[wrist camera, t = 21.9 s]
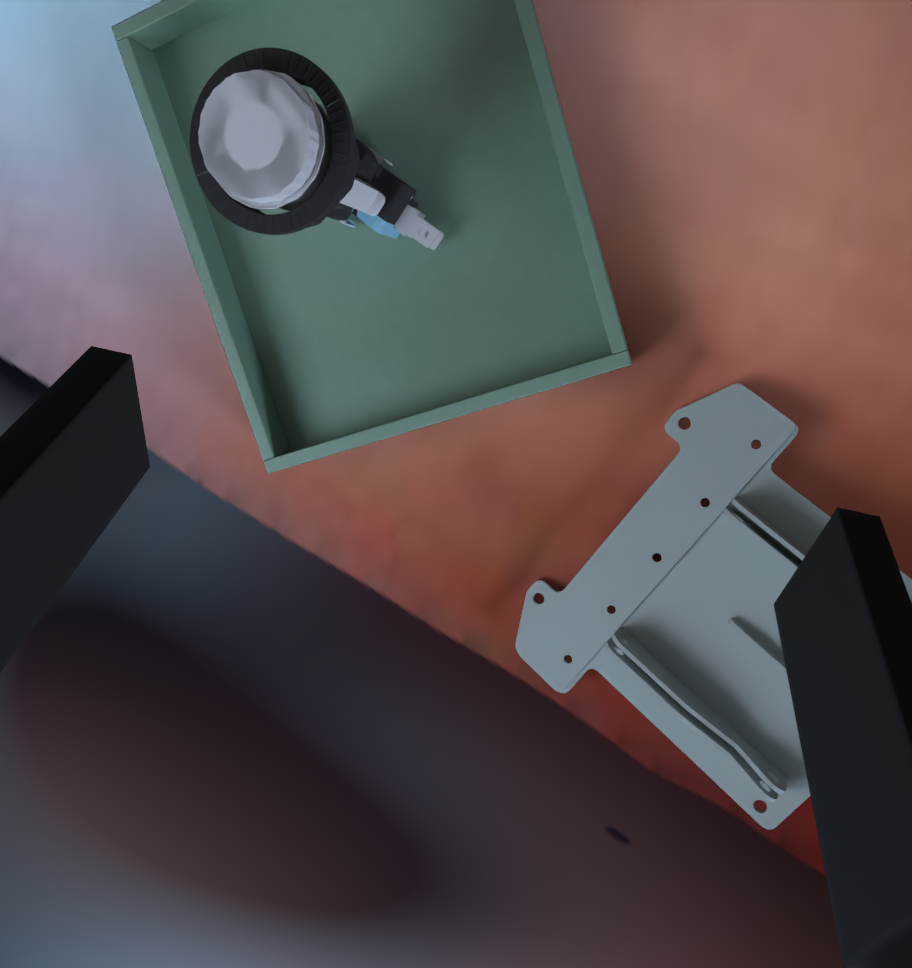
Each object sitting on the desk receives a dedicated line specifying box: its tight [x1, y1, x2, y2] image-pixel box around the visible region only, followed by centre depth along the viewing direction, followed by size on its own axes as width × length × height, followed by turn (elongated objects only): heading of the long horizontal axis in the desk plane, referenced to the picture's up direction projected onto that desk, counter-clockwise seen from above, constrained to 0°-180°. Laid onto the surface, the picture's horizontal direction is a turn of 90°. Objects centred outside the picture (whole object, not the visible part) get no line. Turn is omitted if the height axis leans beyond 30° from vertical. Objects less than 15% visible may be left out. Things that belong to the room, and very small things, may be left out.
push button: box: [190, 47, 444, 250], centre depth 27 cm, size 7×5×10 cm
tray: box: [112, 0, 631, 473], centre depth 32 cm, size 19×16×2 cm
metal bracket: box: [515, 384, 912, 829], centre depth 32 cm, size 14×6×15 cm
